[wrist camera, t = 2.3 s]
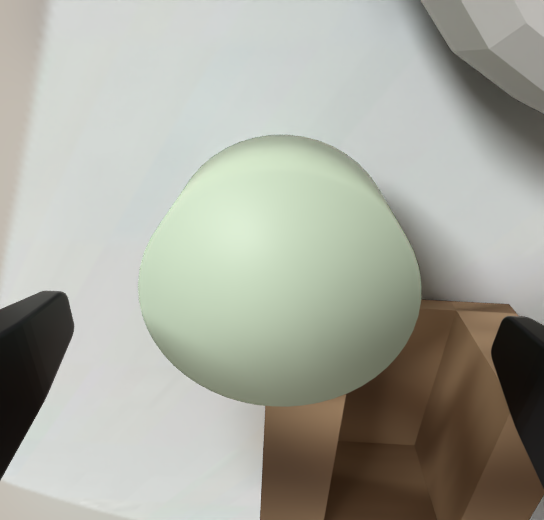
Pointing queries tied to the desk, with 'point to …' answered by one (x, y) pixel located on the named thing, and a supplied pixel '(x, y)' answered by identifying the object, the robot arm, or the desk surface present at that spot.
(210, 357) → the peg
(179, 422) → the desk surface
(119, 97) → the desk surface
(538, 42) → the robot toy
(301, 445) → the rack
